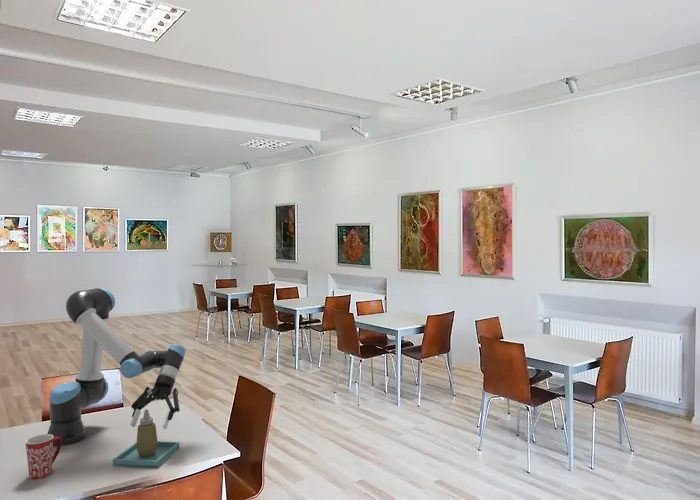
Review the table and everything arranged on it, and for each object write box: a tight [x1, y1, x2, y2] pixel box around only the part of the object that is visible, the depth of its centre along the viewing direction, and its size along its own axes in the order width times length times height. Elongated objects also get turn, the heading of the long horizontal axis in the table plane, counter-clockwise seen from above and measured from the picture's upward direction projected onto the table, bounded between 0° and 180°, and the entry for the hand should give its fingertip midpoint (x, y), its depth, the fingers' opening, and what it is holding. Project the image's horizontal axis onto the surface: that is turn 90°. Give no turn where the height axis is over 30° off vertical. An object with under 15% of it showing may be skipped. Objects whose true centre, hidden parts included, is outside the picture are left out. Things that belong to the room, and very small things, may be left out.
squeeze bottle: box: [135, 409, 158, 457], centre depth 200 cm, size 8×8×18 cm
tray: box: [112, 440, 180, 469], centre depth 200 cm, size 18×18×2 cm
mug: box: [24, 433, 63, 480], centre depth 187 cm, size 13×9×14 cm
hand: (148, 426), depth 200 cm, fingers open, 13 cm apart
